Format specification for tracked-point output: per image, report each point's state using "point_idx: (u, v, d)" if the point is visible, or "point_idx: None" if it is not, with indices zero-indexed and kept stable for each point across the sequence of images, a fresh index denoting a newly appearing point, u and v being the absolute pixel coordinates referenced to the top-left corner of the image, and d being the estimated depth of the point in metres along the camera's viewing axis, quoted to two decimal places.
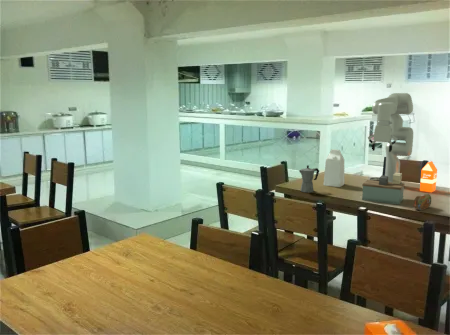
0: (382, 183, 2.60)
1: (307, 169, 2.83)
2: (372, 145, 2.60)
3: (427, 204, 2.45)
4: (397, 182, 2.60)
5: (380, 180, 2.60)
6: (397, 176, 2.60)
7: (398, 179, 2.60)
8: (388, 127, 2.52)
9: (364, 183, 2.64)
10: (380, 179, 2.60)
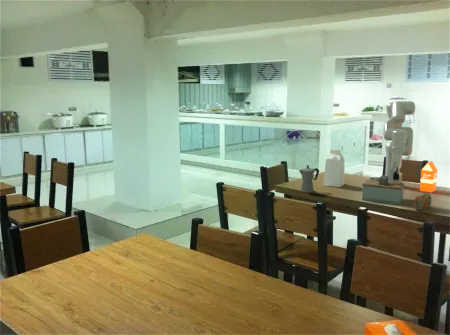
0: (382, 183, 2.60)
1: (307, 169, 2.83)
2: (397, 175, 2.58)
3: (427, 204, 2.45)
4: (397, 182, 2.61)
5: (380, 180, 2.60)
6: None
7: None
8: None
9: (364, 183, 2.64)
10: (380, 179, 2.60)
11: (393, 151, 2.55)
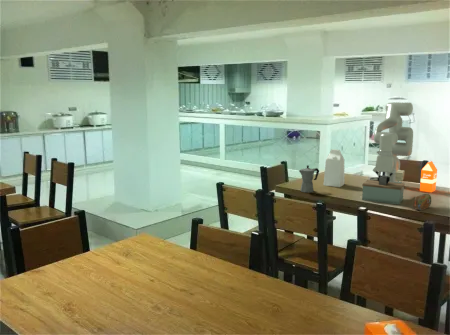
0: (382, 183, 2.60)
1: (307, 169, 2.83)
2: None
3: (427, 204, 2.45)
4: (400, 179, 2.69)
5: (380, 180, 2.60)
6: (400, 173, 2.68)
7: (401, 176, 2.68)
8: None
9: (364, 183, 2.64)
10: (380, 179, 2.60)
11: (390, 154, 2.56)
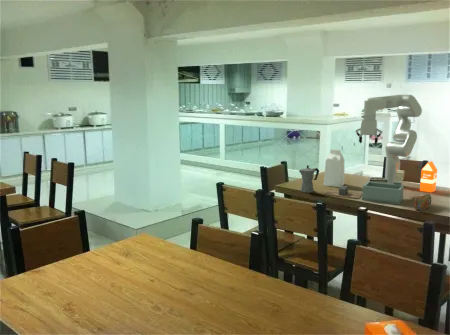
0: (341, 193, 2.74)
1: (307, 169, 2.83)
2: None
3: (427, 204, 2.45)
4: (400, 179, 2.69)
5: (340, 190, 2.74)
6: (400, 173, 2.68)
7: (401, 176, 2.68)
8: None
9: (325, 193, 2.79)
10: (340, 189, 2.74)
11: (373, 118, 2.72)
